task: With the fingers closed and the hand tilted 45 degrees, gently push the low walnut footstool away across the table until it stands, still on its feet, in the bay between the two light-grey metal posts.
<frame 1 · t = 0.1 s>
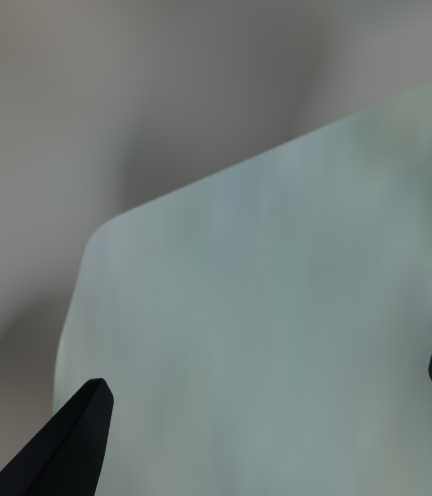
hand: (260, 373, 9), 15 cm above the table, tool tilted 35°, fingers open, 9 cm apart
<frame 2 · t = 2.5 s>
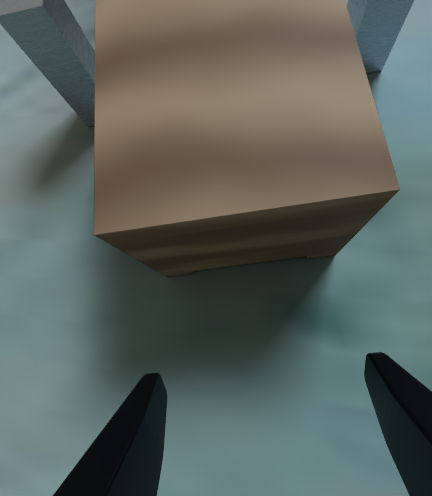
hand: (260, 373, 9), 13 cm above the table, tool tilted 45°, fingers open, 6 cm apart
post 2: (103, 109, 28), on the table
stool: (235, 167, 24), on the table
post 1: (358, 59, 25), on the table
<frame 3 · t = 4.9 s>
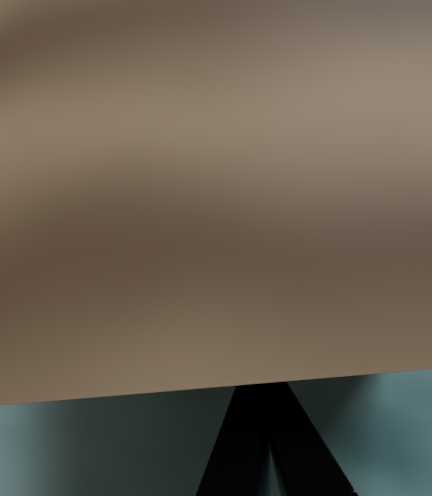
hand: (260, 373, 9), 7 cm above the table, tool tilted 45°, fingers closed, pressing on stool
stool: (241, 201, 17), on the table, touching gripper
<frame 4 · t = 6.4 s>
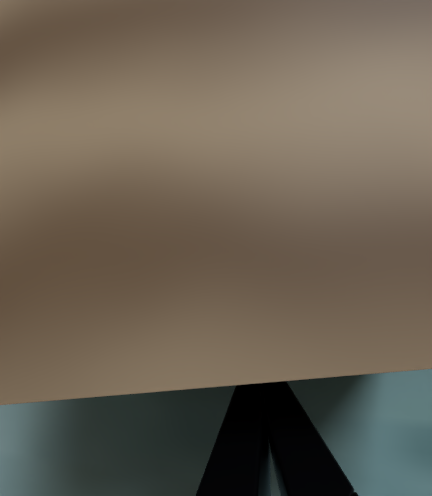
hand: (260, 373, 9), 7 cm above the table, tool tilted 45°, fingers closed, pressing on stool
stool: (241, 201, 17), on the table, touching gripper
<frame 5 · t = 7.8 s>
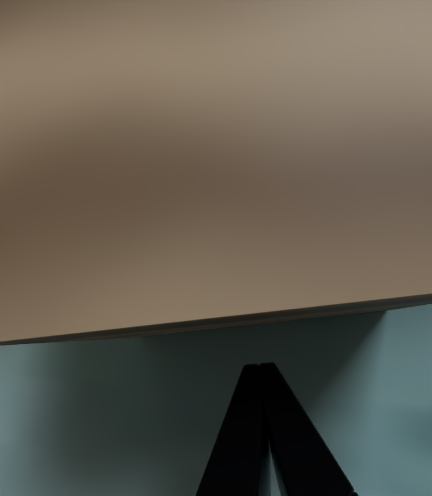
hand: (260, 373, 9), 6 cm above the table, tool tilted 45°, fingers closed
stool: (238, 176, 17), on the table
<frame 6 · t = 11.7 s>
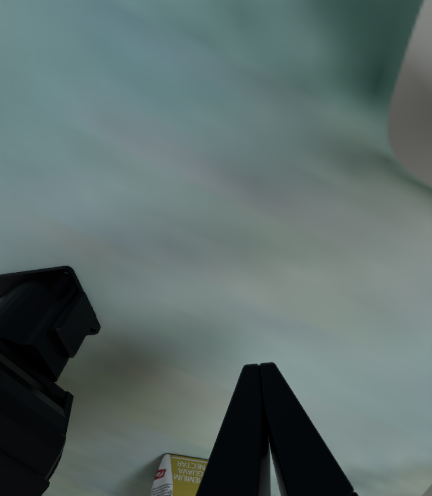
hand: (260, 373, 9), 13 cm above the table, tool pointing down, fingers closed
juice carton: (185, 470, 37), on the table
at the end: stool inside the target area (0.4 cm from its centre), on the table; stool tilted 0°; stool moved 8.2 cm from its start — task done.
